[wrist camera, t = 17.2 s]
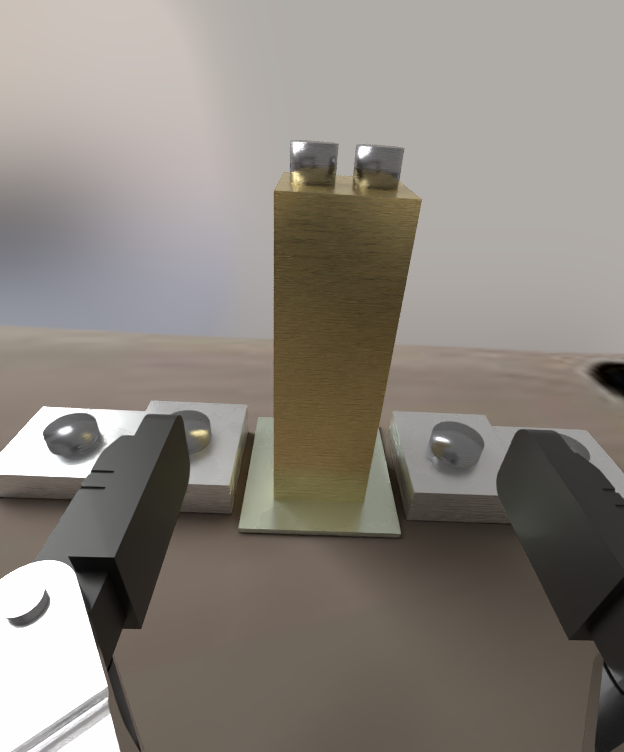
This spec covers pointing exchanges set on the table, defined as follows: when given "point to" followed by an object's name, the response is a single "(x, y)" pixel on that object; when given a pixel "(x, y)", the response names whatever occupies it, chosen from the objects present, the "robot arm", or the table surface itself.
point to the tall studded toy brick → (336, 313)
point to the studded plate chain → (260, 510)
